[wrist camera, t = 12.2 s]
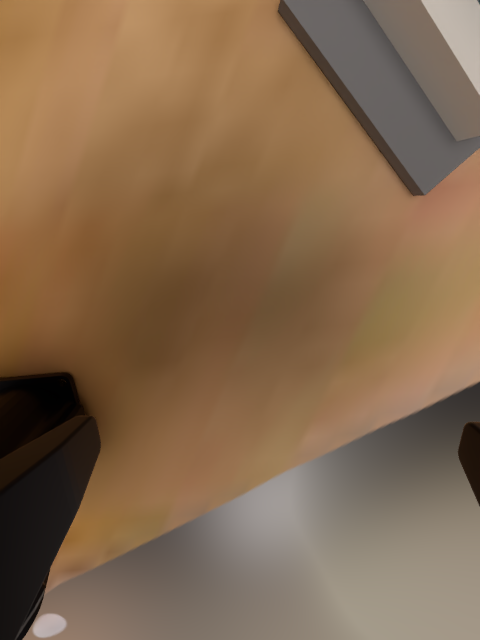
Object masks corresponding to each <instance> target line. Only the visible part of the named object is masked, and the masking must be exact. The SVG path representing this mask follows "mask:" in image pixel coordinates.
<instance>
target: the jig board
mask: <svg viewBox="0 0 480 640" xmlns="http://www.w3.org/2000/svg"><path fill="white" fill-rule="evenodd" d="M278 12H279V13H280V14H281V16H282V17H283V18H284V20H285V21H286V23H287V24H288V25H289V27H290V28H291V29H292V31H293V32H294V33H295V35H296V36H297V38H298V39H299V40H300V42H301V43H302V44H303V46H304V47H305V48H306V50H307V51H308V53H309V54H310V55H311V57H312V58H313V59H314V61H315V62H316V63H317V65H318V66H319V68H320V69H321V70H322V72H323V73H324V74H325V76H326V77H327V78H328V80H329V81H330V83H331V84H332V85H333V87H334V88H335V89H336V91H337V92H338V93H339V95H340V96H341V98H342V99H343V100H344V102H345V103H346V104H347V106H348V107H349V108H350V110H351V111H352V113H353V114H354V115H355V117H356V118H357V119H358V121H359V122H360V123H361V125H362V126H363V128H364V129H365V130H366V132H367V133H368V134H369V136H370V137H371V138H372V140H373V141H374V143H375V144H376V145H377V147H378V148H379V149H380V151H381V152H382V153H383V155H384V156H385V158H386V159H387V160H388V162H389V163H390V164H391V166H392V167H393V168H394V170H395V171H396V173H397V174H398V175H399V177H400V178H401V179H402V181H403V182H404V183H405V185H406V186H407V188H408V189H409V190H410V192H411V193H412V194H413V196H414V195H426V194H427V193H428V192H429V191H430V190H431V189H433V188H434V187H435V186H436V185H437V184H438V183H440V182H441V181H442V180H443V179H444V178H445V177H446V176H448V175H449V174H450V173H451V172H452V171H453V170H454V169H456V168H457V167H458V166H459V165H460V164H461V163H463V162H464V161H465V160H466V159H467V158H468V157H469V156H471V155H472V154H473V153H474V152H475V151H476V150H478V149H479V148H480V4H479V2H478V1H477V0H280V4H279V8H278Z"/></svg>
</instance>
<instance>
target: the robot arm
mask: <svg viewBox="0 0 480 640" xmlns="http://www.w3.org/2000/svg"><path fill="white" fill-rule="evenodd" d="M61 379H63V380H65V381H66V383H63V382H62V381H61ZM100 448H101V441H100V436H99V432H98V427H97V422H96V419H95V418H94V417H93V416H85V412H84V409H83V406H82V405H81V404H80V402H79V399H78V395H77V392H76V388H75V384H74V381H73V378H72V376H71V375H70V374H68V373H54V374H43V375H32V376H21V377H10V378H0V640H22V639H23V638H24V636H25V635H26V633H27V632H28V630H29V628H30V627H31V625H32V623H33V622H34V620H35V618H36V615H37V614H38V611H39V609H40V606H41V603H42V600H43V597H44V593H45V588H46V584H47V580H48V576H49V572H50V568H51V565H52V563H53V561H54V559H55V557H56V555H57V553H58V551H59V549H60V546H61V544H62V542H63V540H64V538H65V536H66V534H67V532H68V530H69V528H70V526H71V524H72V522H73V520H74V518H75V515H76V513H77V511H78V509H79V506H80V504H81V501H82V499H83V496H84V493H85V490H86V488H87V485H88V482H89V479H90V477H91V474H92V471H93V469H94V466H95V463H96V460H97V458H98V455H99V452H100ZM458 456H459V460H460V462H461V465H462V467H463V469H464V471H465V474H466V476H467V478H468V481H469V483H470V485H471V488H472V490H473V492H474V494H475V497H476V499H477V501H478V503H479V506H480V422H468V423H466V424H465V426H464V429H463V432H462V436H461V440H460V445H459V449H458Z"/></svg>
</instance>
